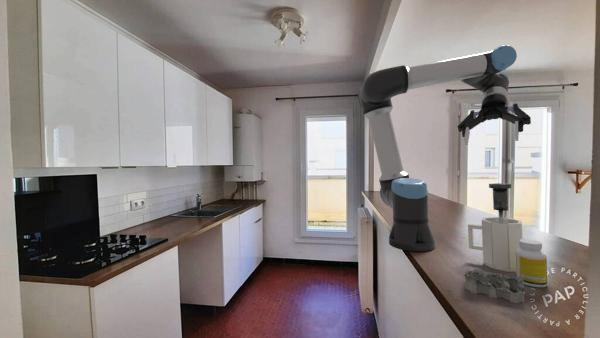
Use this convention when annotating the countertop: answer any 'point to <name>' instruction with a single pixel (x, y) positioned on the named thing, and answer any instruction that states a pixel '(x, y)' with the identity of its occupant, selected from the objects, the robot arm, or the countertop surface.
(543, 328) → the countertop surface
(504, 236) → the white paneled mug
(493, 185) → the plunger
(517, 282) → the egg carton
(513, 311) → the countertop surface
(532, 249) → the supplement bottle
